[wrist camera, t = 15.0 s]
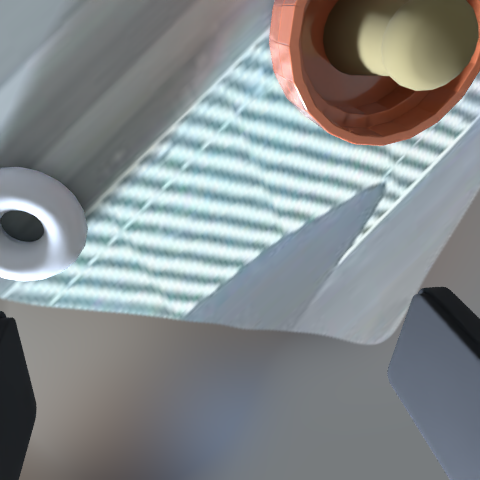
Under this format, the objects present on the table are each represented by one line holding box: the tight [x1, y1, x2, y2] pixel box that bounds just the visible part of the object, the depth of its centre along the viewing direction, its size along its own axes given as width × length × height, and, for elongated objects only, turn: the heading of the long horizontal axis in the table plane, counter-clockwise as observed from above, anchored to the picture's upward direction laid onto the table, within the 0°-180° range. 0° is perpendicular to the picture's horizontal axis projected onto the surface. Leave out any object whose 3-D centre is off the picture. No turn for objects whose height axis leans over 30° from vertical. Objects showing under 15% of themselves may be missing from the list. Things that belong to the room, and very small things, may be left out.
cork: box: [323, 0, 479, 91], centre depth 27 cm, size 6×6×11 cm
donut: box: [0, 167, 88, 281], centre depth 33 cm, size 10×4×10 cm
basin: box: [269, 0, 480, 146], centre depth 30 cm, size 14×14×6 cm
